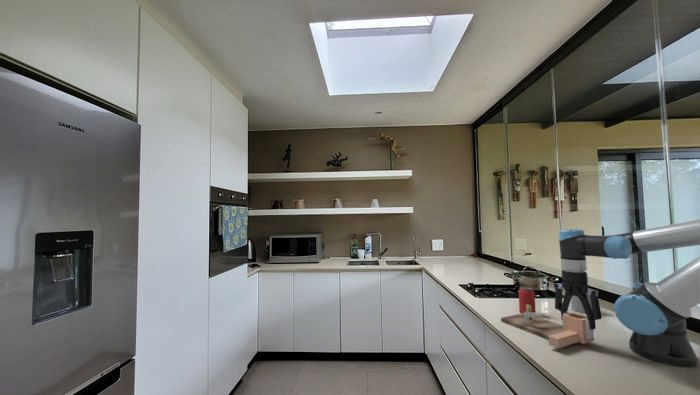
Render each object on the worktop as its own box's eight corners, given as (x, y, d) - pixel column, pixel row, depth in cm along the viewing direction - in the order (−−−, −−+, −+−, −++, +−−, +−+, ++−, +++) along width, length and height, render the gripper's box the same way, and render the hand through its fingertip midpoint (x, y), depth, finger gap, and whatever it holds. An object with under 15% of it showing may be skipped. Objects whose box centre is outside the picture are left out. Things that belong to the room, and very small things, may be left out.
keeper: (525, 327, 115) (524, 311, 115) (540, 329, 113) (539, 313, 113) (526, 330, 112) (525, 313, 112) (542, 332, 110) (541, 315, 110)
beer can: (530, 311, 134) (529, 286, 135) (538, 316, 128) (537, 289, 129) (516, 310, 135) (515, 285, 136) (523, 315, 128) (522, 289, 129)
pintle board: (574, 333, 109) (573, 313, 110) (549, 340, 103) (548, 319, 103) (524, 316, 128) (524, 299, 128) (500, 321, 121) (500, 303, 122)
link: (573, 333, 105) (572, 312, 106) (593, 340, 99) (592, 317, 100) (543, 342, 98) (542, 319, 99) (563, 350, 92) (561, 325, 93)
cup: (568, 309, 137) (567, 289, 137) (577, 307, 140) (576, 287, 141) (588, 315, 129) (587, 293, 130) (597, 312, 132) (596, 291, 133)
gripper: (611, 274, 96) (617, 342, 94) (552, 266, 114) (556, 323, 112) (600, 276, 93) (606, 346, 91) (540, 267, 111) (544, 326, 109)
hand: (578, 333), depth 101 cm, fingers closed on link, 6 cm apart
